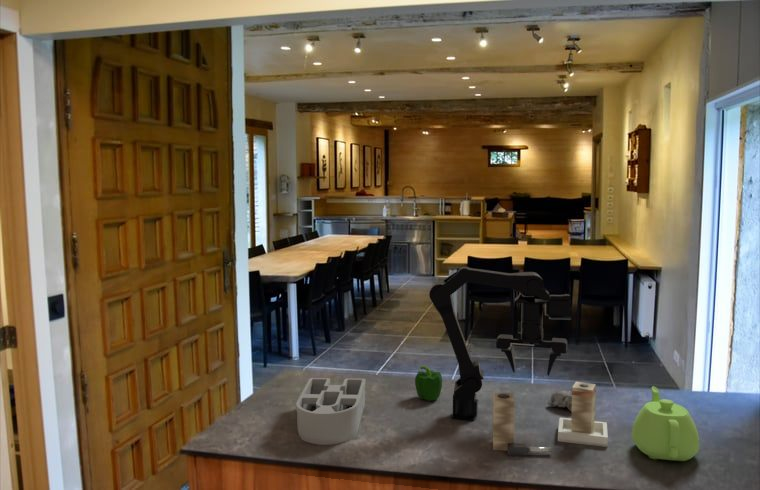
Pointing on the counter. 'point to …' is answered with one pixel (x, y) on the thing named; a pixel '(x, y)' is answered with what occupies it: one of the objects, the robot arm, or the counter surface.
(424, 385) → the bell pepper
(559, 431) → the tray
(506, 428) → the block
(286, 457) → the counter surface
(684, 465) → the counter surface
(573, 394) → the block
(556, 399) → the mineral specimen
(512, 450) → the pin gauge
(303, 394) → the grey compartment organizer
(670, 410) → the teapot
